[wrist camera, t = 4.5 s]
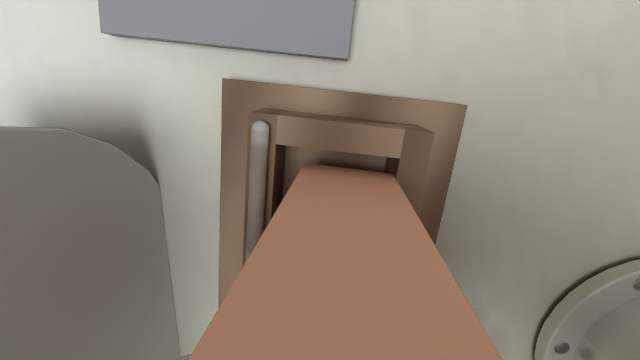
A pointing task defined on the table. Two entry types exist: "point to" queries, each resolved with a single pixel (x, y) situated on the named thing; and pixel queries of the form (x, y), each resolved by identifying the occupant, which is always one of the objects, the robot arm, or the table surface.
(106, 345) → the alarm clock
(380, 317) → the salmon pink tall block
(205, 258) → the table surface
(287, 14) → the mat
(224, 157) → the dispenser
